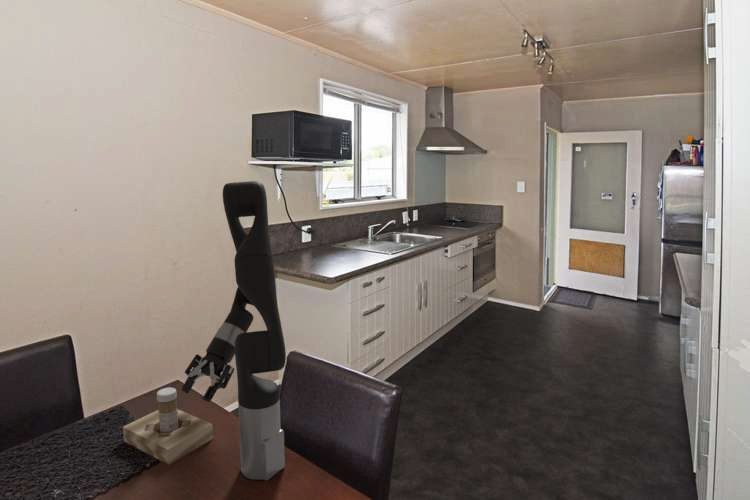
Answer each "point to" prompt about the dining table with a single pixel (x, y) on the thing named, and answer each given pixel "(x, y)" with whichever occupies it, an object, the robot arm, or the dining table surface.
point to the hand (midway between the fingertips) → (194, 396)
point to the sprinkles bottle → (167, 410)
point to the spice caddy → (168, 436)
